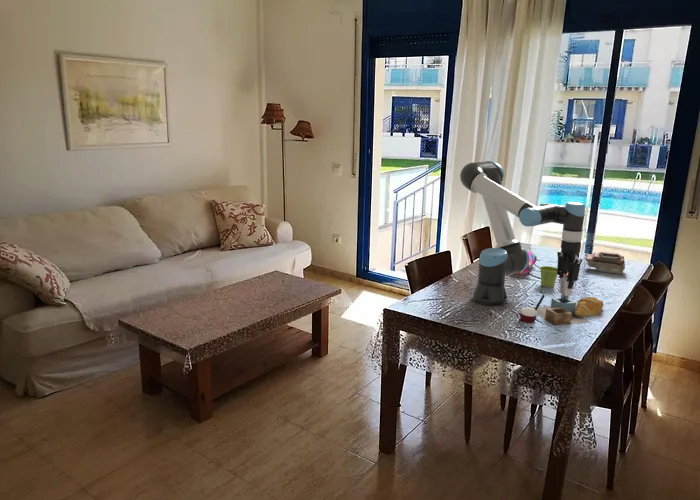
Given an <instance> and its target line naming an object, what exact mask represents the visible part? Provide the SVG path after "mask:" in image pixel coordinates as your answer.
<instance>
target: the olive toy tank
mask: <svg viewBox="0 0 700 500" xmlns="http://www.w3.org/2000/svg"><path fill="white" fill-rule="evenodd" d="M585 261H586V262H587V266H588V267H589V268H593V269H596V270H597V272H604V273H610V274H617V275H622V274H623V273H624V270H625V269H626V264H625V262H626V261H625V257H624V255H621V254H620V253H617V252H610V251H609V252H607V251H600V252H597V251H596V252H593V254H592V253H591V254H589V253H588V254H586V255H585Z"/></svg>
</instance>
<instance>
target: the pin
mask: <svg viewBox="0 0 700 500" xmlns="http://www.w3.org/2000/svg"><path fill="white" fill-rule="evenodd" d="M566 280H568V272H567V273H564V275H563V283H562V291H561V293H560V298H561V300H560V302H562V303H565V302H568V298H569V296H565V295H564V294H565V286H566Z"/></svg>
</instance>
